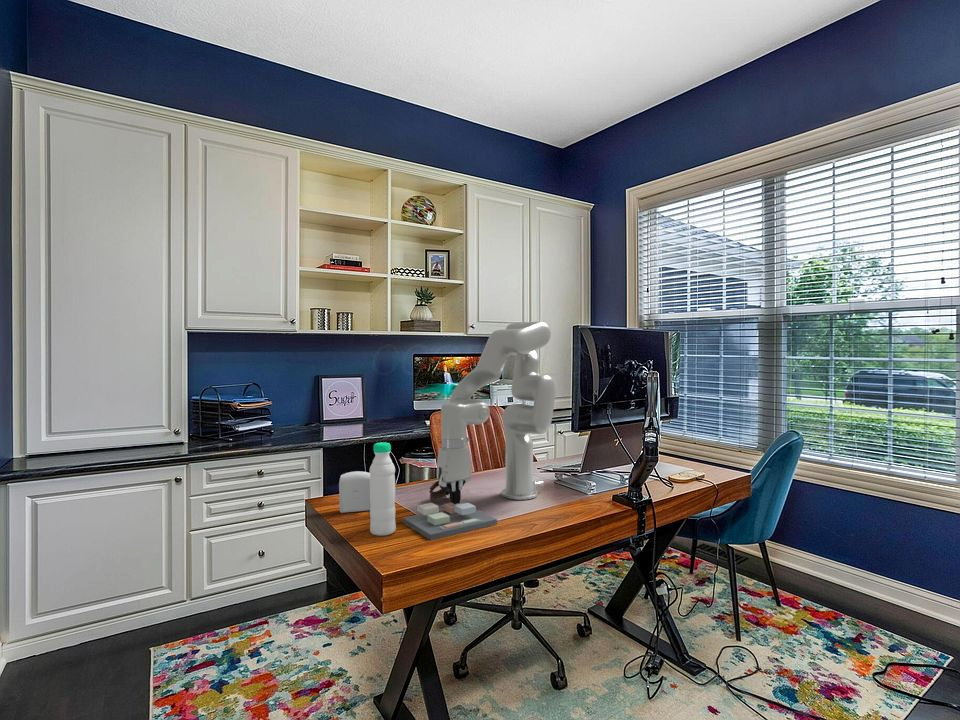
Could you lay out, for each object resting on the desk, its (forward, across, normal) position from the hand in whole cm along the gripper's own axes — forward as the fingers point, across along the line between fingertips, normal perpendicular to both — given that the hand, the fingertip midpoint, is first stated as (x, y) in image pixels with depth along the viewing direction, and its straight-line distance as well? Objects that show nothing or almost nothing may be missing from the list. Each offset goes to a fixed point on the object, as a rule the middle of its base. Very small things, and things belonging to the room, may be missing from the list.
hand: (455, 502), depth 163 cm
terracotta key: (+2, +1, 0) cm, 2 cm away
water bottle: (+4, +24, 0) cm, 24 cm away
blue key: (+1, +1, +6) cm, 6 cm away
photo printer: (+4, +23, -23) cm, 33 cm away
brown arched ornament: (+5, -6, -16) cm, 18 cm away
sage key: (+2, +10, +6) cm, 12 cm away
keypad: (+4, +5, +5) cm, 8 cm away
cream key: (+1, +10, 0) cm, 10 cm away
